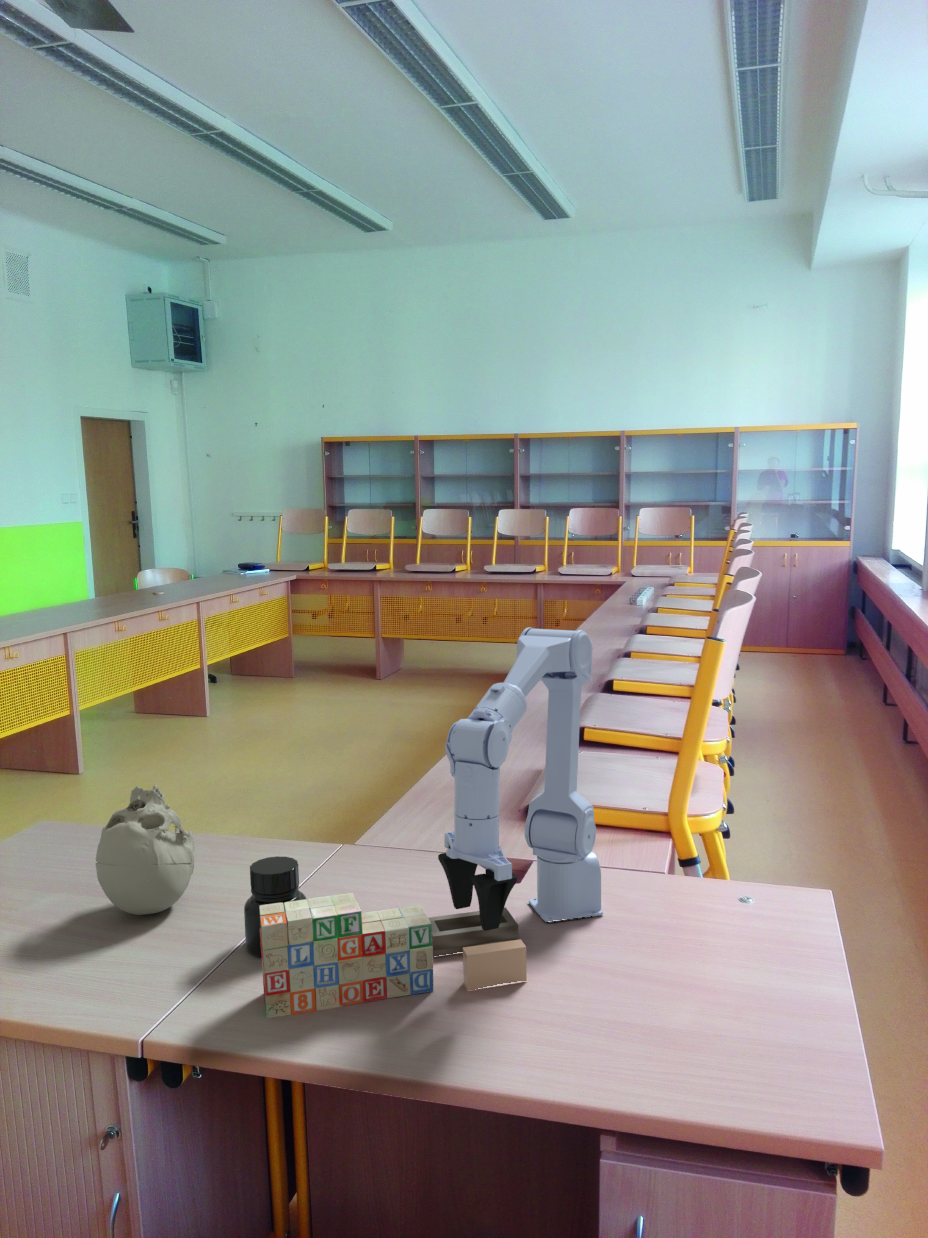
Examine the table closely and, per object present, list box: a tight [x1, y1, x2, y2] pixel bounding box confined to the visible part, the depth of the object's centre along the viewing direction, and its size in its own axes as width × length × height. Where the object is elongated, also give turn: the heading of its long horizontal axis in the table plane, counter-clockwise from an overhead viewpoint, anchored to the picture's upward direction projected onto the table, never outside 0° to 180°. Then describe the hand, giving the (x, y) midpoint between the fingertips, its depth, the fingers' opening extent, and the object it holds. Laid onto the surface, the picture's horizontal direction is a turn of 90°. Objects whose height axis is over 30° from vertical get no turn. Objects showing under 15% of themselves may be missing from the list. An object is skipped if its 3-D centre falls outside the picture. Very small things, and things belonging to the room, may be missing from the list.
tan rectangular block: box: [462, 938, 527, 992], centre depth 119 cm, size 8×2×5 cm, turn 105°
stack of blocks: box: [259, 892, 434, 1019], centre depth 116 cm, size 21×6×12 cm, turn 105°
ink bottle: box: [243, 856, 307, 958], centre depth 130 cm, size 10×9×12 cm
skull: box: [95, 784, 195, 916], centre depth 141 cm, size 13×15×20 cm
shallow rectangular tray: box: [428, 906, 519, 956], centre depth 130 cm, size 12×6×3 cm, turn 105°
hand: (475, 917), depth 116 cm, fingers open, 7 cm apart
